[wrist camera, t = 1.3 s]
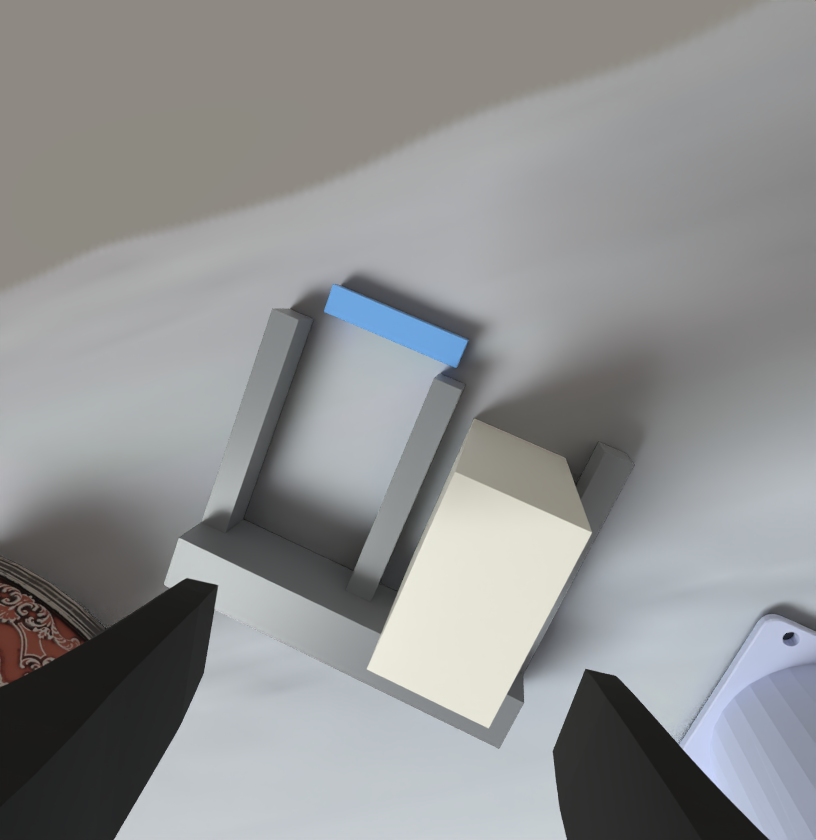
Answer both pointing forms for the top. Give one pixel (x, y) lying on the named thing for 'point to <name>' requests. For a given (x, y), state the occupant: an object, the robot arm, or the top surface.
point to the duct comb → (360, 589)
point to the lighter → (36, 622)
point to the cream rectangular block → (483, 574)
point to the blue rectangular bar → (396, 325)
